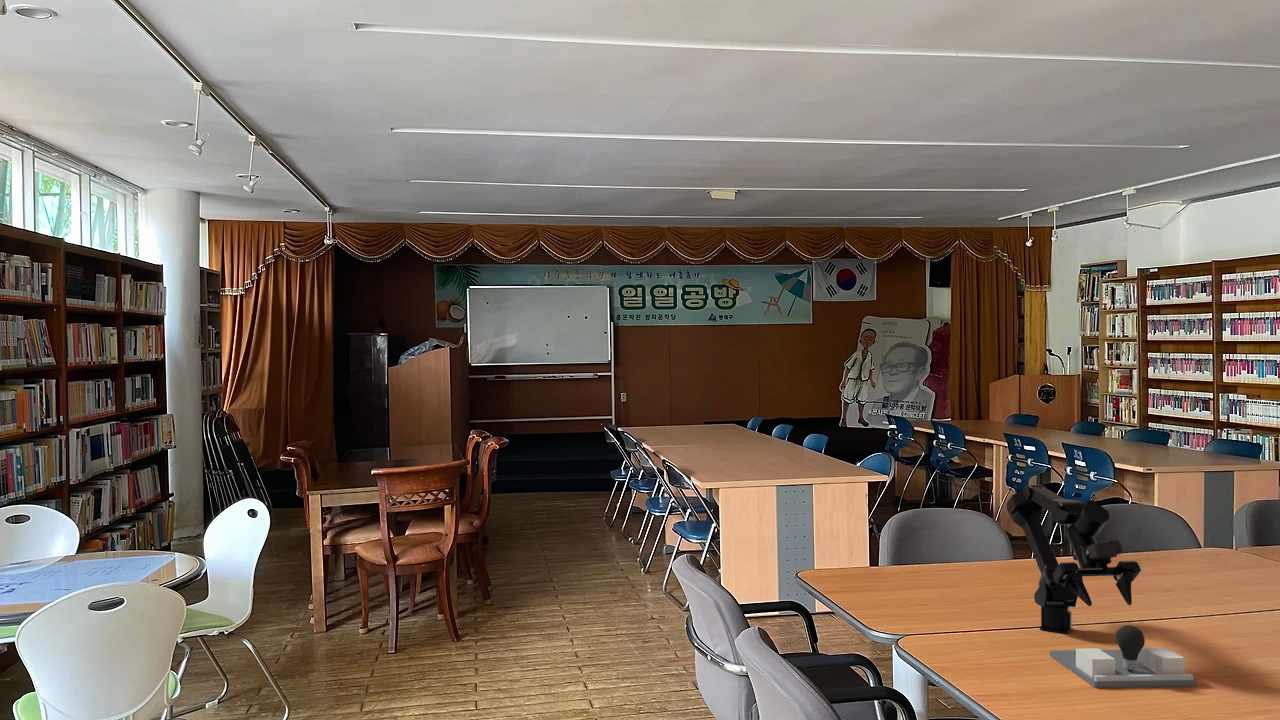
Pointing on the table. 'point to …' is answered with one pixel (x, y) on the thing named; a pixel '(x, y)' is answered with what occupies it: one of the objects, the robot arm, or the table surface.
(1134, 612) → the table surface
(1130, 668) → the black light bulb
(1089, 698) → the table surface
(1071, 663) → the board
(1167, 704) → the table surface
